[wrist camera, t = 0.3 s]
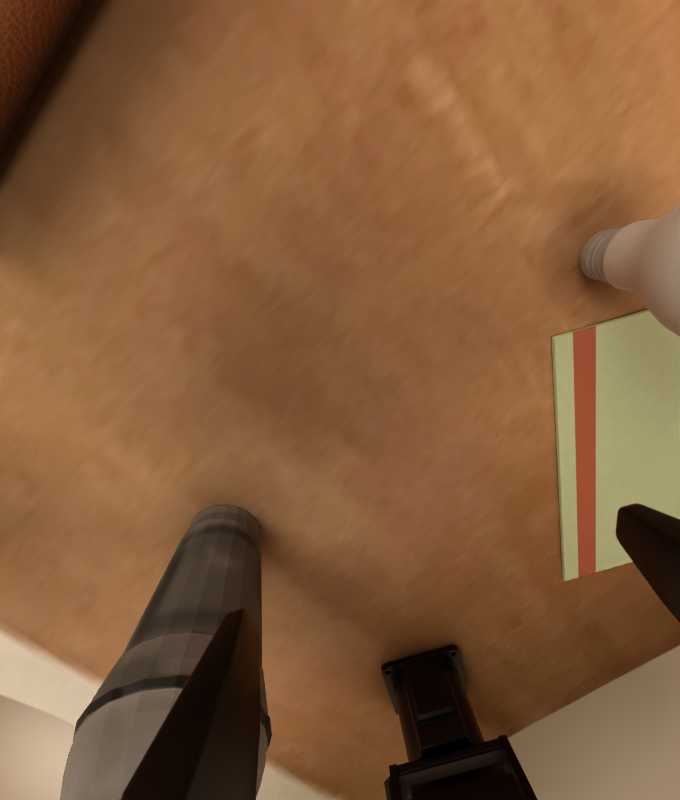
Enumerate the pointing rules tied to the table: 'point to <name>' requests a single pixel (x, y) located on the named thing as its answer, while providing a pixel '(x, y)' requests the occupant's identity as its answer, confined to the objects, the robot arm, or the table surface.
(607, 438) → the cloth
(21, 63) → the sunglasses case
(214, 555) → the beverage cup
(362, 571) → the table surface
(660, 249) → the lightbulb
